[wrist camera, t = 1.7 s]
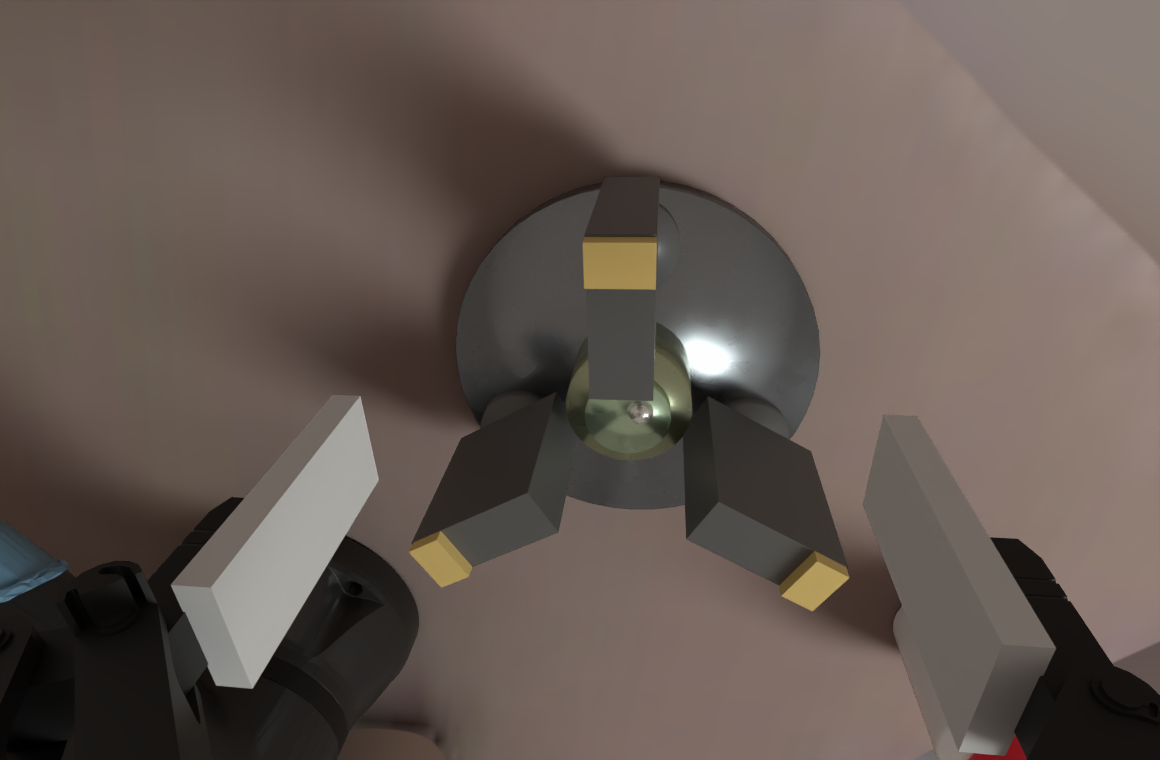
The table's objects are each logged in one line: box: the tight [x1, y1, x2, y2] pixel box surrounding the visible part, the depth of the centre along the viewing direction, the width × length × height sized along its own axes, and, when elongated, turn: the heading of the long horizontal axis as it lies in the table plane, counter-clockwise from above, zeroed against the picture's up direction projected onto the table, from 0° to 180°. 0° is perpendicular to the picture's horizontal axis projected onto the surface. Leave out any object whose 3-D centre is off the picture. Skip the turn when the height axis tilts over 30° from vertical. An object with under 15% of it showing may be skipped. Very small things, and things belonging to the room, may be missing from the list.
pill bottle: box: [893, 606, 1027, 760], centre depth 39 cm, size 8×8×11 cm
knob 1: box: [409, 390, 578, 588], centre depth 33 cm, size 6×4×10 cm
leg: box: [583, 177, 680, 401], centre depth 27 cm, size 6×4×10 cm
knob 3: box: [683, 396, 849, 611], centre depth 32 cm, size 6×4×10 cm
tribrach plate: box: [456, 181, 820, 509], centre depth 34 cm, size 19×19×7 cm
